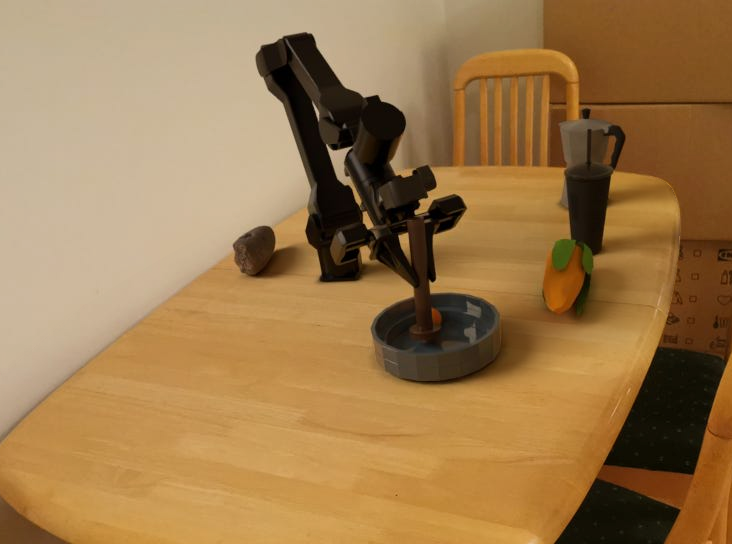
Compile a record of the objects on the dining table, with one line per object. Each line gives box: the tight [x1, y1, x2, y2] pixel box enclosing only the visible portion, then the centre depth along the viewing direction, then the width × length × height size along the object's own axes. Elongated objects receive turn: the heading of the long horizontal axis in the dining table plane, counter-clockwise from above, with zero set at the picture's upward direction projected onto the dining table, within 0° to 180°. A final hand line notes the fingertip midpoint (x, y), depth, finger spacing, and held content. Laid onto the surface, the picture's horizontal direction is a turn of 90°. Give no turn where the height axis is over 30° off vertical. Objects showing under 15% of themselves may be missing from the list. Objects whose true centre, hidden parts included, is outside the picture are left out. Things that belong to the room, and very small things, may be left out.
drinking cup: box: [563, 129, 614, 256], centre depth 112 cm, size 8×8×20 cm
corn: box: [541, 238, 595, 316], centre depth 101 cm, size 7×8×20 cm
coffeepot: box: [557, 107, 627, 209], centre depth 131 cm, size 15×9×18 cm, turn 37°
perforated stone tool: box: [232, 225, 277, 276], centre depth 127 cm, size 15×5×7 cm, turn 167°
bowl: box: [369, 291, 502, 382], centre depth 93 cm, size 17×17×4 cm
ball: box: [432, 308, 441, 324], centre depth 98 cm, size 3×3×3 cm
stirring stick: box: [407, 216, 442, 340], centre depth 91 cm, size 4×4×16 cm
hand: (425, 284), depth 90 cm, fingers closed on stirring stick, 2 cm apart
